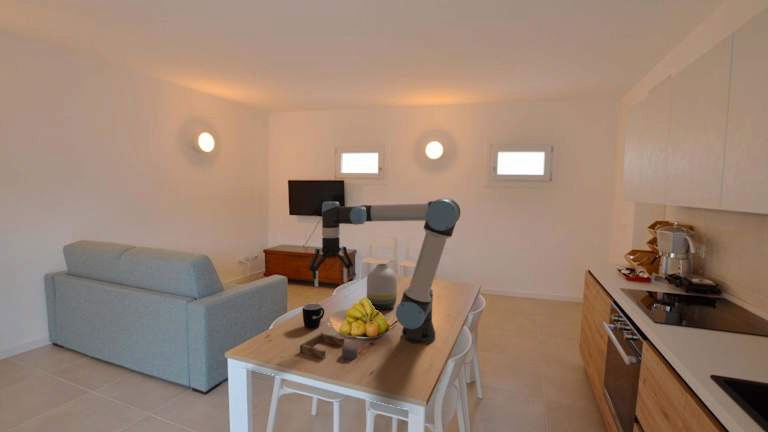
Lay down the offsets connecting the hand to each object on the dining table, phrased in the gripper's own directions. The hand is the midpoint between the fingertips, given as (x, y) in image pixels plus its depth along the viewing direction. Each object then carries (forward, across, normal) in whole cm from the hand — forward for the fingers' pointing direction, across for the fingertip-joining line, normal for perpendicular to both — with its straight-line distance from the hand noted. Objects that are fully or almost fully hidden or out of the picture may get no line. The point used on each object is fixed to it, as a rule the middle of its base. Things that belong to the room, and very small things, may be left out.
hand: (331, 284), depth 159 cm
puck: (+24, 0, +21) cm, 32 cm away
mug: (+24, +3, -15) cm, 29 cm away
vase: (+24, -39, -26) cm, 53 cm away
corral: (+24, +7, +10) cm, 27 cm away
